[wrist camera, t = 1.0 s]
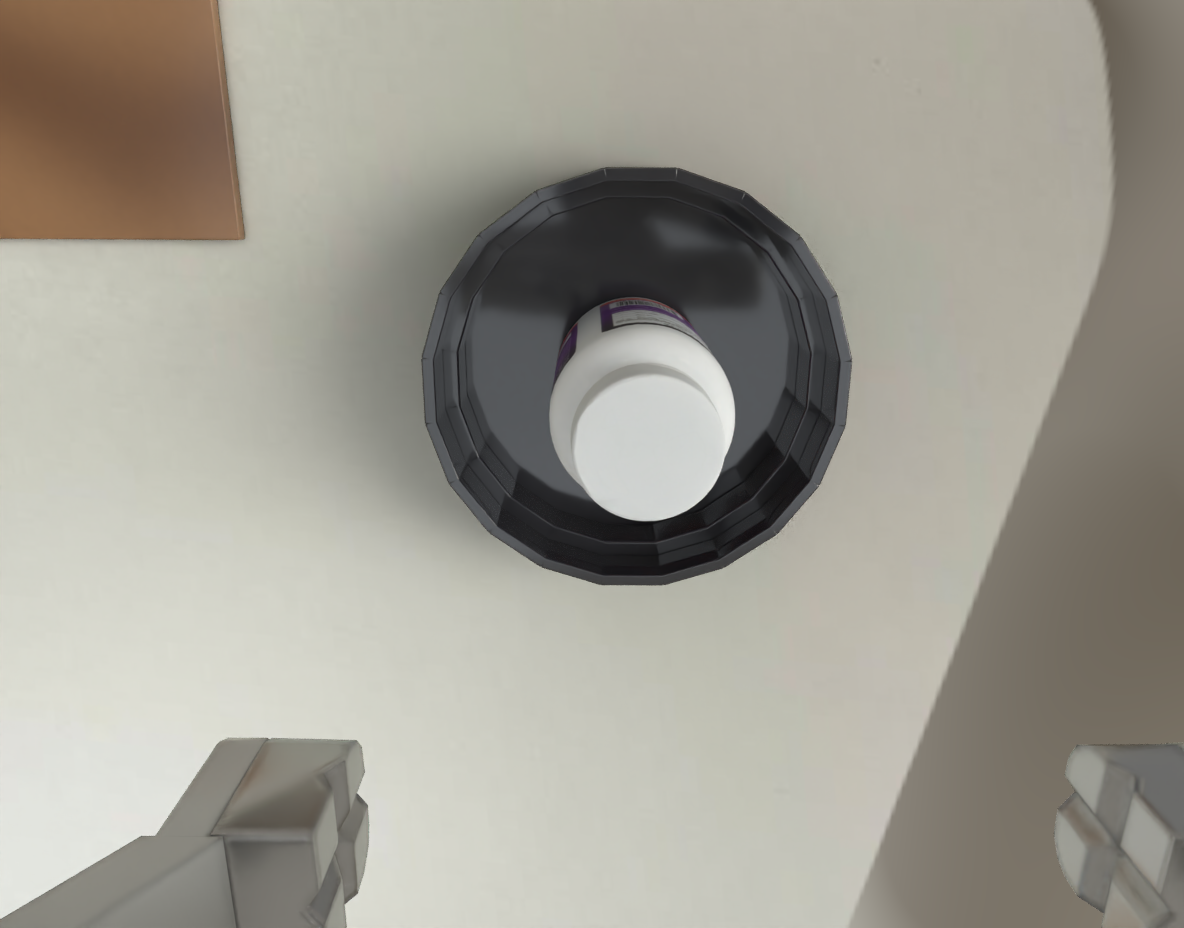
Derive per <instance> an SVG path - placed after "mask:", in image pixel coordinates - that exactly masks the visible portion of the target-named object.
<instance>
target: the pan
mask: <svg viewBox="0 0 1184 928" xmlns="http://www.w3.org/2000/svg"><path fill="white" fill-rule="evenodd" d="M626 297H640V298H647V299H651V300H654V301H657V302H660V303H663V304H665V305H667V306H669V307H670V308H672V309H674V310H675V311H676V312H678V313H679V314H680V315H681V316H683V317H684V318H685V319H686V320H687V321H688V322H689V323H690V324H691V326H692V327H693V328H694V329H695V331H696V332H697V334H698V335H699V336H700V338H701V339H702V340H703V342H704V343H705V344H706V346H707V347H708V349H709V350H710V351H711V353H712V354H713V356H714V357H715V358H716V360H717V361H718V363H719V364H720V366H721V367H722V369H723V371H724V373H725V375H726V377H727V379H728V382H729V384H730V386H731V390H732V393H733V398H734V405H735V427H734V433H733V437H732V441H731V444H730V447H729V449H728V452H727V454H726V456H725V458H724V462H723V466H722V469H721V472H720V474H719V477H718V479H717V481H716V482H715V484H714V486H713V487H712V489H711V490H710V491H709V492H708V493H707V495H706V496H705V497H704V498H703V499H702V500H701V501H699V502H698V503H697V504H696V505H695V506H693V507H692V508H690V509H689V510H687V511H685V512H683V513H681V514H679V515H676V516H674V517H671V518H667V519H663V520H658V521H636V520H630V519H626V518H622V517H620V516H617V515H615V514H613V513H610V512H609V511H607V510H605V509H604V508H602V507H601V506H600V505H599V504H597V503H596V502H595V501H594V500H593V499H592V498H591V497H590V496H589V495H588V494H587V493H586V491H585V490H584V488H583V487H582V486H581V485H580V484H578V483H577V482H576V481H575V480H574V479H573V478H572V477H571V476H570V474H569V473H568V472H567V471H566V469H565V468H564V466H563V464H562V463H561V461H560V459H559V457H558V455H557V453H556V451H555V448H554V445H553V442H552V437H551V433H550V422H549V409H550V400H551V394H552V388H553V382H554V377H555V371H556V363H557V359H558V354H559V351H560V348H561V346H562V344H563V341H564V339H565V338H566V336H567V334H568V332H569V331H570V330H571V328H572V327H573V326H574V325H575V323H576V322H577V321H578V320H579V319H580V318H581V317H582V316H583V315H584V314H586V313H587V312H588V311H590V310H591V309H593V308H594V307H596V306H598V305H600V304H602V303H605V302H608V301H611V300H614V299H619V298H626ZM851 360H852V357H851V352H850V348H849V343H848V339H847V335H846V330H845V326H844V321H843V317H842V313H841V308H840V304H839V299H838V296H837V293H836V292H835V290H834V288H833V287H832V285H831V284H830V282H829V280H828V279H827V277H826V276H825V274H824V272H823V271H822V269H821V267H820V266H819V264H818V263H817V261H816V259H815V258H814V256H813V255H812V253H811V251H810V250H809V248H808V247H807V245H806V243H805V242H804V240H803V239H802V237H800V235H799V234H798V233H797V232H795V231H794V230H793V229H792V228H790V227H789V226H788V225H787V224H785V223H784V222H783V221H782V220H780V219H779V218H778V217H777V216H775V215H774V214H773V213H772V212H770V211H769V210H768V209H767V208H765V207H764V206H763V205H762V204H760V203H759V202H758V201H757V200H755V199H754V198H753V197H752V196H750V195H749V194H748V193H746V192H745V191H742V190H740V189H737V188H734V187H731V186H728V185H725V184H723V183H720V182H717V181H714V180H711V179H708V178H706V177H703V176H700V175H697V174H694V173H691V172H689V171H686V170H683V169H680V168H654V167H606V168H601V169H598V170H595V171H592V172H589V173H586V174H583V175H580V176H577V177H574V178H571V179H568V180H565V181H562V182H559V183H556V184H553V185H550V186H547V187H544V188H541V189H538V190H536V191H534V192H533V193H532V194H530V195H529V196H528V197H526V198H525V199H524V200H522V201H521V202H520V203H518V204H517V205H516V206H515V207H513V208H512V209H511V210H509V211H508V212H507V213H505V214H504V215H503V216H501V217H500V218H499V219H497V220H496V221H495V222H494V223H492V224H491V225H490V226H488V227H487V228H486V229H484V230H483V231H482V232H480V233H479V235H477V237H476V238H475V240H474V241H473V243H472V244H471V246H470V247H469V249H468V250H467V252H466V253H465V255H464V256H463V258H462V259H461V261H460V262H459V264H458V265H457V267H456V268H455V270H454V271H453V273H452V274H451V276H450V277H449V279H448V280H447V281H446V283H445V284H444V286H443V287H442V289H441V290H440V293H439V295H438V299H437V302H436V306H435V310H434V313H433V317H432V321H431V324H430V328H429V332H428V335H427V339H426V343H425V346H424V350H423V354H422V359H421V361H422V378H423V396H424V413H425V423H426V427H427V430H428V432H429V435H430V437H431V440H432V443H433V445H434V448H435V450H436V453H437V455H438V458H439V460H440V463H441V465H442V468H443V471H444V473H445V476H446V478H447V481H448V483H449V484H450V486H451V487H452V488H453V490H454V491H455V492H456V493H457V494H458V496H459V497H460V498H461V499H462V501H463V502H464V503H465V504H466V505H467V507H468V508H469V509H470V510H471V512H472V513H473V514H474V515H475V516H476V518H477V519H478V520H479V521H480V523H481V524H482V525H483V526H484V527H485V529H486V530H487V531H488V532H489V533H490V534H492V535H493V536H495V537H496V538H498V539H499V540H501V541H502V542H504V543H505V544H507V545H508V546H510V547H511V548H513V549H514V550H516V551H517V552H519V553H520V554H522V555H523V556H525V557H526V558H528V559H529V560H531V561H532V562H534V563H536V564H537V565H539V566H540V567H542V568H546V569H549V570H552V571H556V572H559V573H562V574H566V575H569V576H572V577H576V578H579V579H582V580H586V581H589V582H592V583H596V584H599V585H600V584H601V585H666V584H670V583H673V582H677V581H680V580H684V579H687V578H691V577H694V576H698V575H701V574H705V573H708V572H712V571H715V570H719V569H722V568H723V567H726V566H728V565H729V564H731V563H733V562H734V561H736V560H737V559H739V558H740V557H742V556H744V555H745V554H747V553H748V552H750V551H751V550H753V549H755V548H756V547H758V546H759V545H761V544H763V543H764V542H766V541H767V540H769V539H770V538H772V537H774V536H775V535H776V534H778V533H779V532H780V531H781V529H782V528H783V527H784V526H785V525H786V524H787V522H788V521H789V520H790V519H791V518H792V517H793V516H794V514H795V513H796V512H797V511H798V510H799V509H800V507H801V506H802V505H803V504H804V503H805V502H806V501H807V499H808V498H809V497H810V496H811V495H812V494H813V493H814V491H815V490H816V489H817V488H818V487H819V485H820V483H821V481H822V479H823V477H824V474H825V472H826V470H827V467H828V465H829V463H830V461H831V458H832V456H833V454H834V451H835V449H836V447H837V445H838V442H839V440H840V438H841V436H842V433H843V431H844V429H845V425H846V418H847V408H848V398H849V388H850V379H851V369H852V361H851Z"/></svg>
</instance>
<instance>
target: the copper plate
mask: <svg viewBox="0 0 1184 928" xmlns="http://www.w3.org/2000/svg"><path fill="white" fill-rule="evenodd" d="M0 239H150V240H242V239H245V235H244V227H243V218H242V210H241V201H240V192H239V184H238V175H237V167H236V158H235V150H234V141H233V132H232V124H231V115H230V107H229V98H228V90H227V81H226V72H225V64H224V55H223V47H222V38H221V30H220V21H219V12H218V4H217V0H0Z"/></svg>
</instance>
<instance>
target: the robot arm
mask: <svg viewBox="0 0 1184 928" xmlns="http://www.w3.org/2000/svg"><path fill="white" fill-rule="evenodd" d="M364 773H365V769H364V761H363V753H362V747H361V745H360V744H359V742H358V741H357V740H328V739H291V738H271V739H268V738H227V739H225V740H222V741H220V742H219V743H218V744H217V745H216V746H215V748H214V749H213V751H212V752H211V754H210V755H209V757H208V758H207V760H206V761H205V763H204V764H203V766H202V767H201V769H200V770H199V772H198V773H197V775H196V776H195V778H194V779H193V781H192V782H191V784H190V785H189V787H188V788H187V790H186V791H185V793H184V794H183V796H182V797H181V798H180V800H179V801H178V803H177V804H176V806H175V807H174V809H173V810H172V812H171V813H170V815H169V816H168V818H167V819H166V821H165V822H164V824H163V825H162V827H161V828H160V830H159V831H158V833H157V834H156V836H141V837H139V838H137V839H135V840H134V841H132V842H130V843H129V844H127V845H125V846H124V847H122V848H120V849H119V850H117V851H115V852H113V853H112V854H110V855H108V856H107V857H105V858H103V859H102V860H100V861H98V862H97V863H95V864H93V865H91V866H90V867H88V868H86V869H85V870H83V871H81V872H80V873H78V874H76V875H75V876H73V877H71V878H69V879H68V880H66V881H64V882H63V883H61V884H59V885H58V886H56V887H54V888H53V889H51V890H49V891H47V892H46V893H44V894H42V895H41V896H39V897H37V898H36V899H34V900H32V901H31V902H29V903H27V904H25V905H24V906H22V907H20V908H19V909H17V910H15V911H14V912H12V913H10V914H9V915H7V916H5V917H3V918H2V919H0V928H346V927H347V926H346V915H345V904H346V903H347V902H348V901H349V900H350V899H352V898H353V897H354V896H355V895H356V894H358V891H359V887H360V884H361V881H362V878H363V874H364V870H365V864H366V858H367V852H368V845H369V815H368V805H367V804H366V803H365V801H364V800H363V799H362V798H361V797H360V796H359V795H358V794H357V792H358V789H359V786H360V784H361V781H362V778H363V775H364ZM1065 776H1066V778H1067V780H1068V781H1069V783H1070V784H1071V786H1072V788H1073V789H1074V791H1075V792H1074V793H1073V794H1072V795H1071V796H1070V797H1069V798H1068V799H1067V800H1066V801H1065V802H1064V803H1063V804H1062V805H1061V806H1060V807H1059V808H1058V811H1057V818H1056V824H1055V831H1054V837H1055V843H1056V849H1057V857H1058V860H1059V863H1060V865H1061V868H1062V870H1063V873H1064V875H1065V878H1066V879H1067V881H1068V882H1069V884H1070V885H1071V887H1072V888H1073V890H1074V891H1075V893H1076V894H1077V896H1078V897H1079V898H1081V899H1082V900H1084V901H1086V902H1087V903H1088V904H1090V905H1091V906H1093V907H1095V908H1096V909H1098V910H1099V911H1101V912H1102V913H1104V914H1103V920H1102V926H1101V928H1184V743H1166V744H1146V745H1145V744H1144V745H1143V744H1140V745H1139V744H1138V745H1135V744H1132V745H1077V746H1076V747H1075V749H1074V750H1073V751H1072V753H1071V755H1070V756H1069V759H1068V763H1067V768H1066V772H1065Z"/></svg>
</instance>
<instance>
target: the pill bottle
mask: <svg viewBox="0 0 1184 928" xmlns="http://www.w3.org/2000/svg"><path fill="white" fill-rule="evenodd" d="M549 422H550V433H551V437H552V442H553V445H554V448H555V451H556V453H557V455H558V457H559V459H560V461H561V463H562V464H563V466H564V468H565V469H566V471H567V472H568V473H569V474H570V476H571V477H572V478H573V479H574V480H575V481H576V482H577V483H578V484H580V485H581V486H582V487H583V488H584V490H585V491H586V493H587V494H588V495H589V496H590V497H591V498H592V499H593V500H594V501H595V502H596V503H597V504H599V505H600V506H601V507H602V508H604V509H605V510H607V511H609V512H610V513H613V514H615V515H617V516H620V517H622V518H626V519H630V520H636V521H658V520H663V519H667V518H671V517H674V516H676V515H679V514H681V513H683V512H685V511H687V510H689V509H690V508H692V507H693V506H695V505H696V504H697V503H698V502H699V501H701V500H702V499H703V498H704V497H705V496H706V495H707V493H708V492H709V491H710V490H711V489H712V487H713V486H714V484H715V482H716V481H717V479H718V477H719V474H720V472H721V469H722V466H723V462H724V458H725V456H726V454H727V452H728V449H729V447H730V444H731V441H732V437H733V433H734V427H735V405H734V398H733V393H732V390H731V386H730V384H729V382H728V379H727V377H726V375H725V373H724V371H723V369H722V367H721V366H720V364H719V363H718V361H717V360H716V358H715V357H714V356H713V354H712V353H711V351H710V350H709V349H708V347H707V346H706V344H705V343H704V342H703V340H702V339H701V338H700V336H699V335H698V334H697V332H696V331H695V329H694V328H693V327H692V326H691V324H690V323H689V322H688V321H687V320H686V319H685V318H684V317H683V316H681V315H680V314H679V313H678V312H676V311H675V310H674V309H672V308H670V307H669V306H667V305H665V304H663V303H660V302H657V301H654V300H651V299H647V298H640V297H626V298H619V299H614V300H611V301H608V302H605V303H602V304H600V305H598V306H596V307H594V308H593V309H591V310H590V311H588V312H587V313H586V314H584V315H583V316H582V317H581V318H580V319H579V320H578V321H577V322H576V323H575V325H574V326H573V327H572V328H571V330H570V331H569V332H568V334H567V336H566V338H565V339H564V341H563V344H562V346H561V348H560V351H559V354H558V359H557V363H556V371H555V377H554V382H553V388H552V394H551V400H550V409H549Z"/></svg>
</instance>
